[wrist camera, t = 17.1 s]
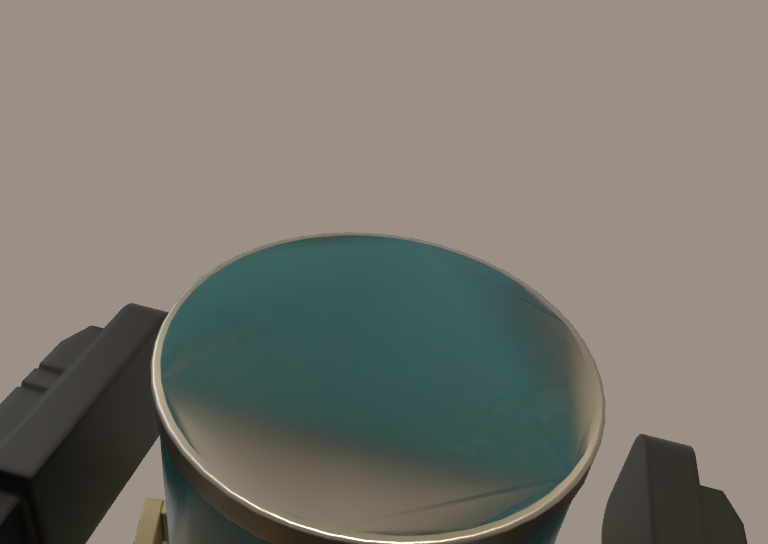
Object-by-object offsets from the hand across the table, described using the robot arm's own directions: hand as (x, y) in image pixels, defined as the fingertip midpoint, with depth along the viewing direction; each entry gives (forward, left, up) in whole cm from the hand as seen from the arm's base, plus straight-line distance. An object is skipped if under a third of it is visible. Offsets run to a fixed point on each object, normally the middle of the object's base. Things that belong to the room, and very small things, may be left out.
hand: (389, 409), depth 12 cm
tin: (-1, +2, -6) cm, 6 cm away
